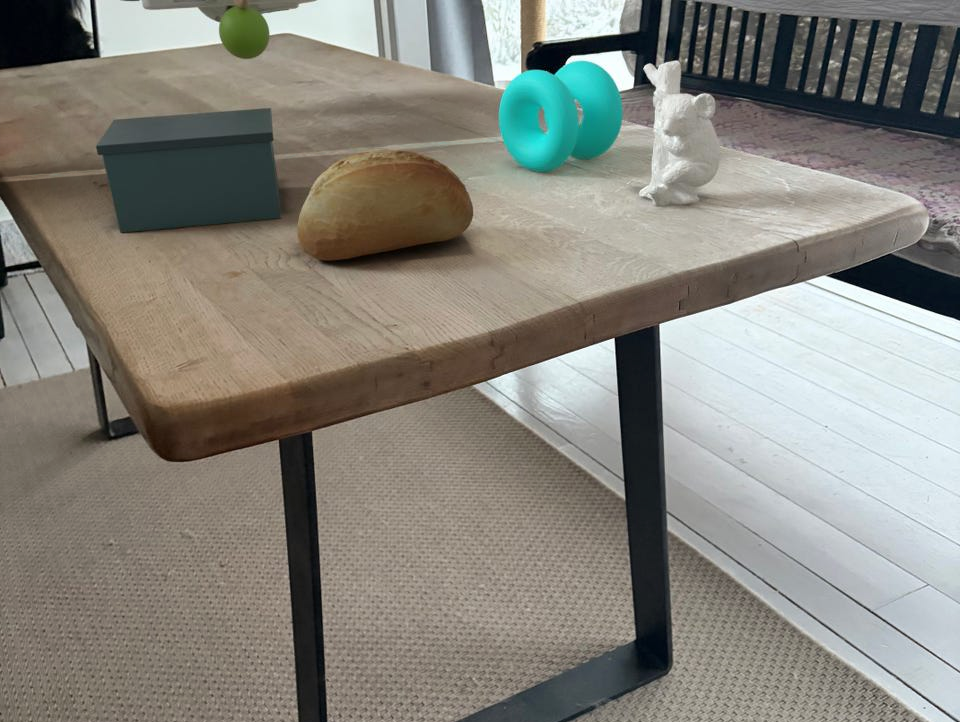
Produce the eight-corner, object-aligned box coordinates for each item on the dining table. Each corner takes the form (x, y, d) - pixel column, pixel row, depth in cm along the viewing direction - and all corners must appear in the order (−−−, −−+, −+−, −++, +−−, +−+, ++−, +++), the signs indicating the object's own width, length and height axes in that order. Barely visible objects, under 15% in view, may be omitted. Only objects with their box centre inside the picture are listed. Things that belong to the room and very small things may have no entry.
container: (116, 234, 86) (95, 145, 82) (131, 199, 96) (113, 119, 92) (284, 219, 88) (272, 132, 84) (281, 186, 98) (270, 107, 94)
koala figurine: (615, 196, 90) (620, 61, 84) (673, 185, 93) (681, 54, 87) (670, 218, 84) (679, 73, 78) (730, 206, 86) (744, 65, 80)
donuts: (626, 162, 102) (630, 62, 97) (564, 181, 96) (565, 76, 91) (556, 149, 108) (556, 55, 103) (494, 166, 102) (491, 67, 97)
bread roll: (496, 251, 78) (494, 151, 74) (319, 282, 73) (305, 177, 69) (452, 221, 86) (447, 129, 82) (289, 247, 81) (275, 151, 77)
